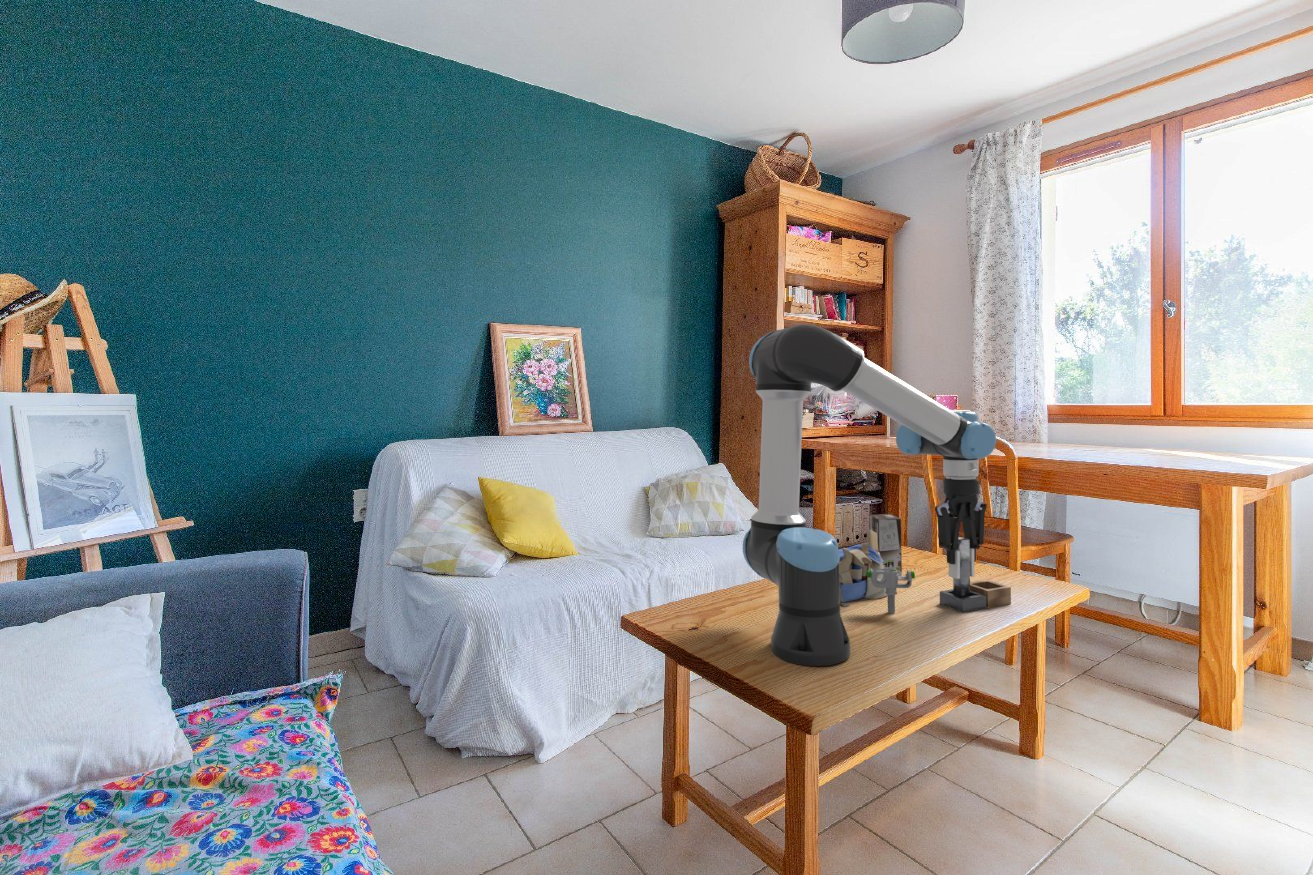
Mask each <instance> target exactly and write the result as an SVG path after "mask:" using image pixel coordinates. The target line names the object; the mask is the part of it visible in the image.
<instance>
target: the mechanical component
mask: <svg viewBox="0 0 1313 875" xmlns="http://www.w3.org/2000/svg"><path fill="white" fill-rule="evenodd" d="M879 575H883V578H882V579H877V577H878V576H879ZM915 575H916V574H915V571H911V570H910V569H909V570H908V569H907V570H906V573H905V574H904V575H902V576H900V575H899V574H897V570H895V569H870V571H867V578H871V581H872V583H873V585H874V586H875V587H877V588H886V591H885V593H886V594H887V596H886V597H887V612H888V614H889V615H895V613H896V598H895V597H896V595H897V594H898V592H897V589H909V588H911V586H912V581H913V579H915V578H916V576H915ZM898 581H899V582H900V581H906V582H904V583H902V582H901V583H898Z"/></svg>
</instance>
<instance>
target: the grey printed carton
mask: <svg viewBox="0 0 1313 875" xmlns="http://www.w3.org/2000/svg"><path fill="white" fill-rule="evenodd" d="M869 530H872V531H874V532H876V533H877V540H878V551H879V553H880V556H881V558H882V559H883V561H884V562H883V566H884V569H895V570H897V574H899V575H900V576H903V572H902V570H903V569H902V568H903V567H902V566H903V563H902V518H901V517H897V516H895V515H894V514H893V513H881V514H880V513H879V514H869Z"/></svg>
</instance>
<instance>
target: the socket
mask: <svg viewBox="0 0 1313 875" xmlns="http://www.w3.org/2000/svg"><path fill="white" fill-rule="evenodd" d="M939 604H940V605H942V606H945V607H948V608H950V609H952V610H955V611H958V612H961V613H967V612H972V611H978V610H983V609H984V610H985V609H987V607H986V595H983V594H980V593H977V592H974V591H971V590H970V595H967V596H961V595H956V594H954V593H953V588H952V589H946V590H940V591H939Z"/></svg>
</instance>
